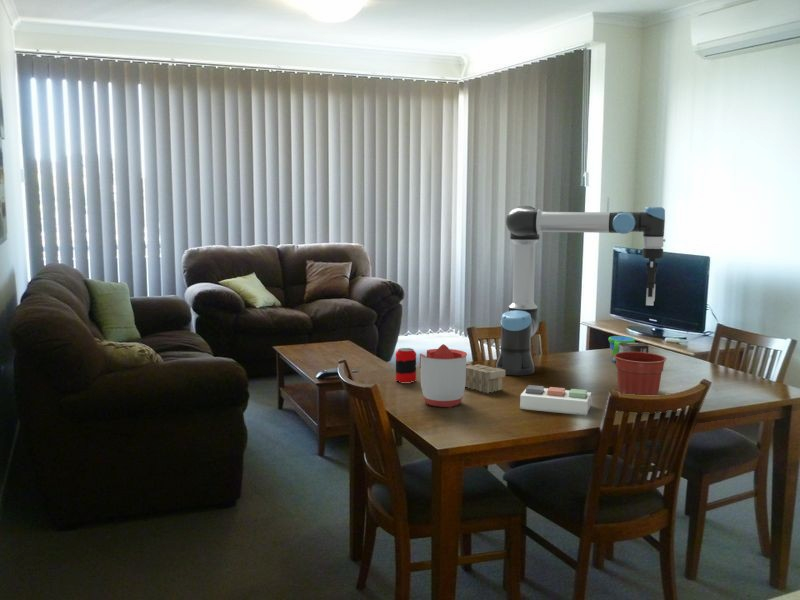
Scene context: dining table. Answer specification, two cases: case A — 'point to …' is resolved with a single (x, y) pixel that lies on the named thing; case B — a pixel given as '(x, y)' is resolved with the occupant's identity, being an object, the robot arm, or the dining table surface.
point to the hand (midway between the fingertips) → (650, 303)
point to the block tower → (484, 377)
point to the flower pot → (639, 372)
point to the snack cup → (615, 344)
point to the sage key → (578, 393)
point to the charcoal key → (535, 389)
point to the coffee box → (633, 347)
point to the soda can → (405, 365)
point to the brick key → (556, 391)
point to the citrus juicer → (443, 376)
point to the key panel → (555, 403)
